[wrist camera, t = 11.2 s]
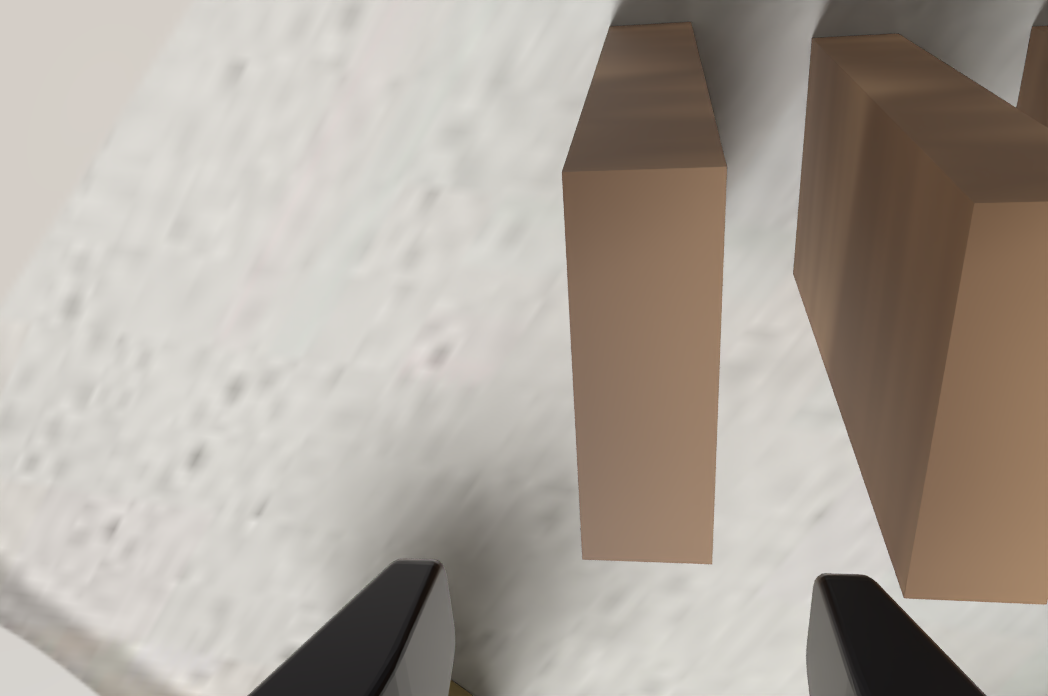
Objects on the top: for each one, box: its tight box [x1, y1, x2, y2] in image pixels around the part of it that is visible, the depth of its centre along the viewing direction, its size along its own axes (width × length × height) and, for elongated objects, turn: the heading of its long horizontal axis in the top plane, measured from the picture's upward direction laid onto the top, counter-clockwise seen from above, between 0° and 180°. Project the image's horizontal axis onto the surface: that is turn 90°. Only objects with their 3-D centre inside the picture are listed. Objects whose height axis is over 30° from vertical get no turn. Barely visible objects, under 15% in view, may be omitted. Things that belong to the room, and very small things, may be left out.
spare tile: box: [562, 22, 727, 564], centre depth 14 cm, size 2×5×10 cm, turn 4°
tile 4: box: [793, 34, 1048, 604], centre depth 14 cm, size 2×5×10 cm, turn 4°
